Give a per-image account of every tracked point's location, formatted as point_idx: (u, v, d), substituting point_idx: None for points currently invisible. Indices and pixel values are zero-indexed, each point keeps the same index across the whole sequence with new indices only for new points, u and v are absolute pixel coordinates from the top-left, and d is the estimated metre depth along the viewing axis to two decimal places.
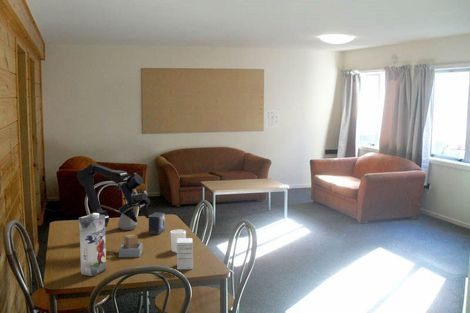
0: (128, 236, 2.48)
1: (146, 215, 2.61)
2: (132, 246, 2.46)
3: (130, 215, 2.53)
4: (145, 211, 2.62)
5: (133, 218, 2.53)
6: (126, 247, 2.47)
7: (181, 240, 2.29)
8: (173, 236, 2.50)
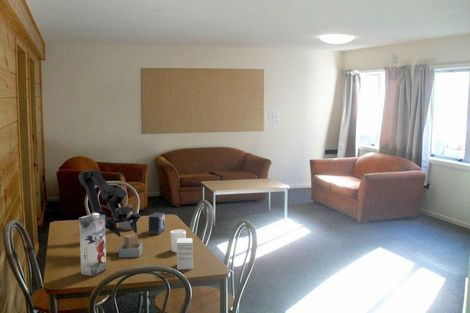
0: (128, 236, 2.48)
1: (134, 230, 2.53)
2: (132, 246, 2.46)
3: (114, 230, 2.48)
4: (133, 226, 2.54)
5: (116, 232, 2.47)
6: (126, 247, 2.47)
7: (181, 240, 2.29)
8: (173, 236, 2.50)
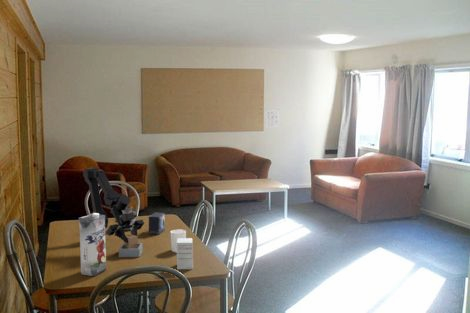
0: (128, 236, 2.48)
1: None
2: (132, 246, 2.46)
3: (121, 236, 2.47)
4: (134, 233, 2.51)
5: (124, 239, 2.46)
6: (126, 247, 2.47)
7: (181, 240, 2.29)
8: (173, 236, 2.50)
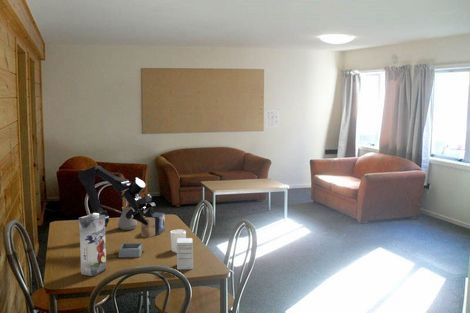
0: (146, 218, 2.55)
1: None
2: (151, 227, 2.55)
3: (140, 219, 2.53)
4: (150, 216, 2.59)
5: (143, 221, 2.53)
6: (145, 229, 2.54)
7: (181, 240, 2.29)
8: (173, 236, 2.50)
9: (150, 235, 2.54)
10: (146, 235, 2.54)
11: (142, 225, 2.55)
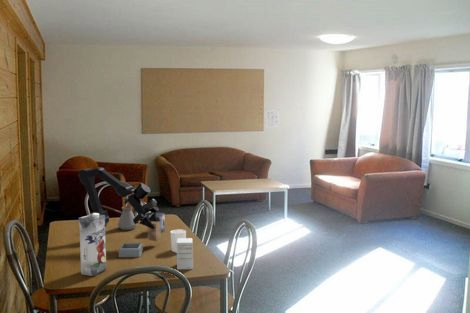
0: (152, 223, 2.60)
1: None
2: (158, 231, 2.60)
3: (146, 223, 2.58)
4: (155, 220, 2.64)
5: (150, 225, 2.58)
6: (151, 233, 2.59)
7: (181, 240, 2.29)
8: (173, 236, 2.50)
9: (157, 239, 2.60)
10: (153, 239, 2.59)
11: (149, 229, 2.59)
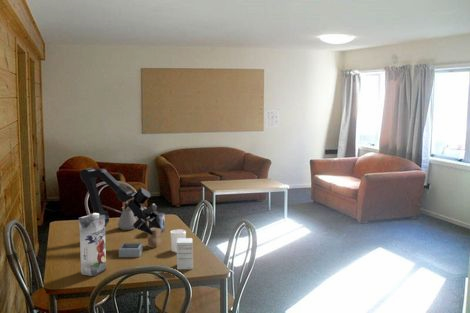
0: (152, 229, 2.60)
1: (158, 227, 2.65)
2: (158, 238, 2.60)
3: (145, 229, 2.56)
4: (157, 223, 2.66)
5: (148, 231, 2.56)
6: (152, 240, 2.60)
7: (181, 240, 2.29)
8: (173, 236, 2.50)
9: (157, 245, 2.60)
10: (153, 245, 2.60)
11: (149, 236, 2.60)
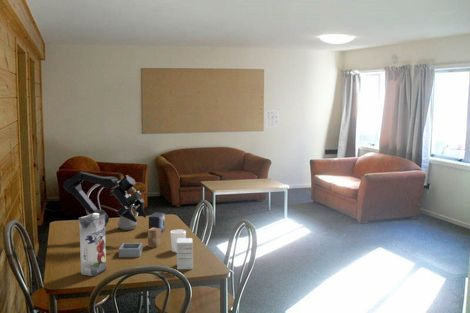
0: (152, 229, 2.60)
1: (143, 214, 2.68)
2: (158, 238, 2.60)
3: (129, 216, 2.59)
4: (141, 211, 2.68)
5: (132, 218, 2.59)
6: (152, 240, 2.60)
7: (181, 240, 2.29)
8: (173, 236, 2.50)
9: (157, 245, 2.60)
10: (153, 245, 2.60)
11: (149, 236, 2.60)
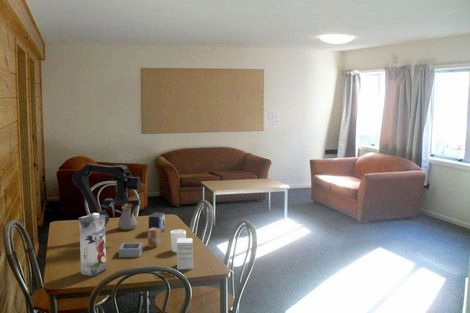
0: (152, 229, 2.60)
1: None
2: (158, 238, 2.60)
3: None
4: (131, 211, 2.67)
5: None
6: (152, 240, 2.60)
7: (181, 240, 2.29)
8: (173, 236, 2.50)
9: (157, 245, 2.60)
10: (153, 245, 2.60)
11: (149, 236, 2.60)
